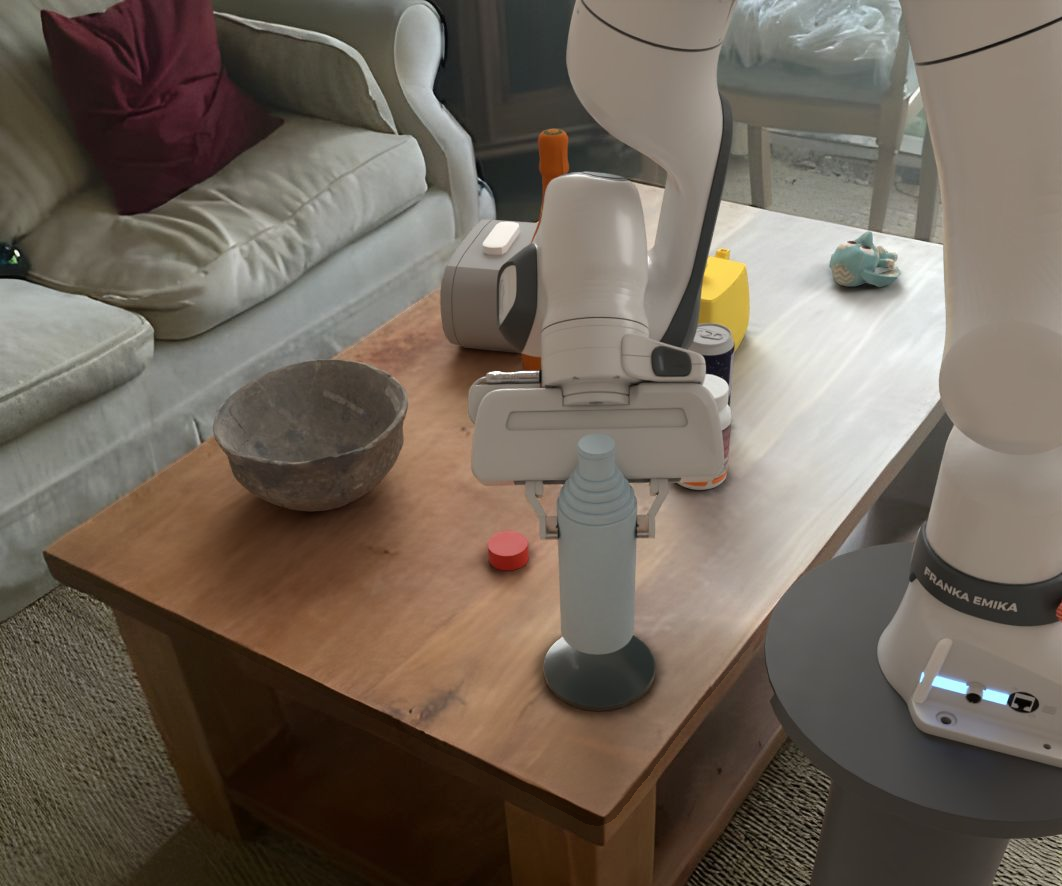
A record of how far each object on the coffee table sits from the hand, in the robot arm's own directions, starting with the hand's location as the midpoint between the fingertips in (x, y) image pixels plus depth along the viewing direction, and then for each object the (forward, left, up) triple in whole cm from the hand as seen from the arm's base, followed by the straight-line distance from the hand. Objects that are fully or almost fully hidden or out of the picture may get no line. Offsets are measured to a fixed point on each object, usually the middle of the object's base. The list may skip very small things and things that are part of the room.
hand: (597, 538), depth 88 cm
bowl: (+41, -10, -16) cm, 45 cm away
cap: (+16, -9, -14) cm, 23 cm away
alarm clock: (+44, -49, -16) cm, 68 cm away
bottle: (+1, -1, -11) cm, 11 cm away
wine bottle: (+31, -43, -16) cm, 55 cm away
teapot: (+20, -58, -16) cm, 63 cm away
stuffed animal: (+8, -86, -16) cm, 87 cm away
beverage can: (+10, -41, -16) cm, 45 cm away
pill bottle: (+6, -32, -16) cm, 36 cm away
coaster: (0, -1, -16) cm, 16 cm away
